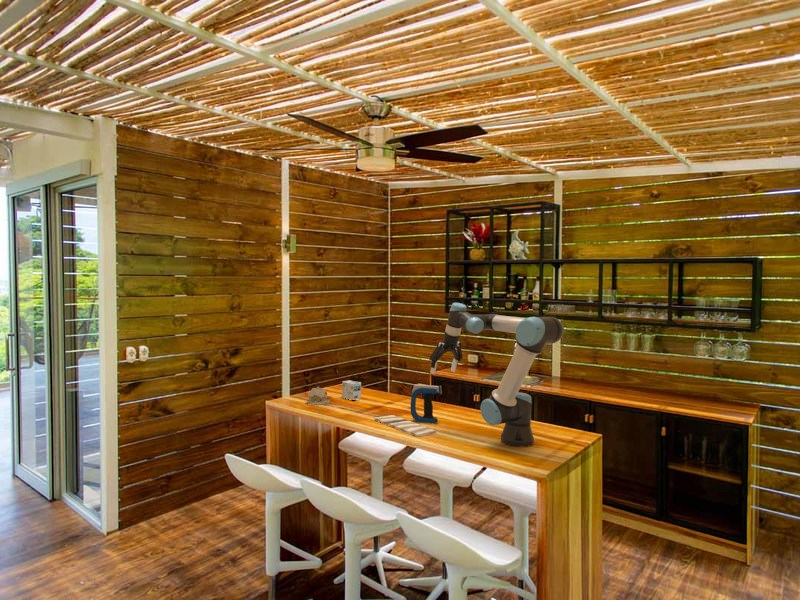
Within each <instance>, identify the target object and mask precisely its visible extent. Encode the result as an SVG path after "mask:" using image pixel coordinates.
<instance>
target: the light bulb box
mask: <svg viewBox="0 0 800 600" xmlns="http://www.w3.org/2000/svg"><path fill="white" fill-rule="evenodd" d="M341 386H342V387H341V398H342V397H343V398H347V399H351V400H356V399H360V398H361V399H362V382H361V381H354V380H343V381H342V383H341ZM343 398H342V399H343ZM347 399H346V400H347ZM351 400H350V401H351ZM356 401H357V400H356Z"/></svg>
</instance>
